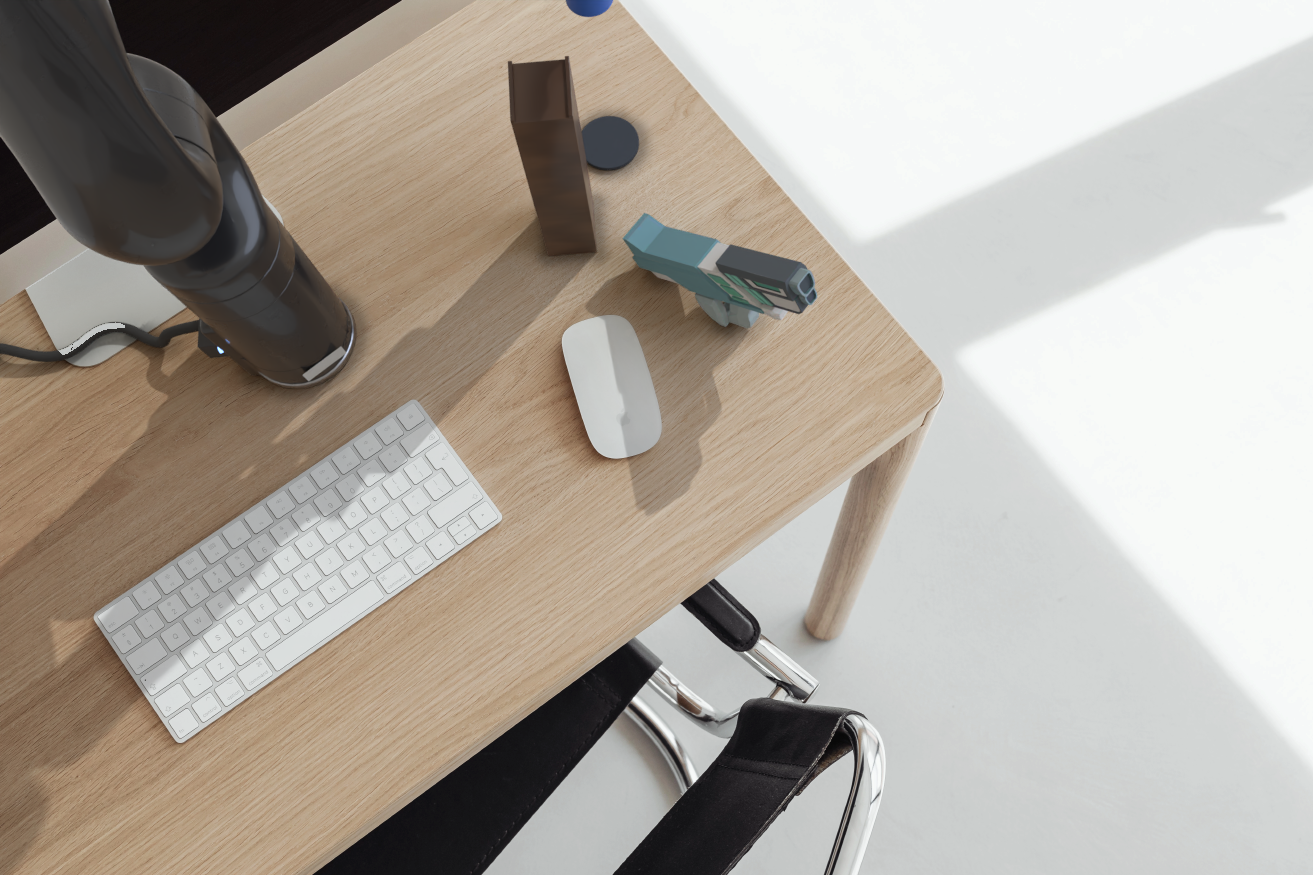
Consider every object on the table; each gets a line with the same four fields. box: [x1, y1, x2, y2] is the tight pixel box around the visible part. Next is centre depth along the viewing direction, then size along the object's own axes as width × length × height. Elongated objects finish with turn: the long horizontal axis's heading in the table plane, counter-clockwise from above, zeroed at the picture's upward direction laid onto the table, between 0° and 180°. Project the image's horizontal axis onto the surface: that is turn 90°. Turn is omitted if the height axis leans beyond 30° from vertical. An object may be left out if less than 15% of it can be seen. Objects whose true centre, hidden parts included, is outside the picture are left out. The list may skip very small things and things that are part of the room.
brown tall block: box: [507, 55, 598, 257], centre depth 81 cm, size 4×5×20 cm
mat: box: [581, 115, 640, 171], centre depth 93 cm, size 6×6×1 cm
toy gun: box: [622, 212, 818, 329], centre depth 82 cm, size 4×19×10 cm
